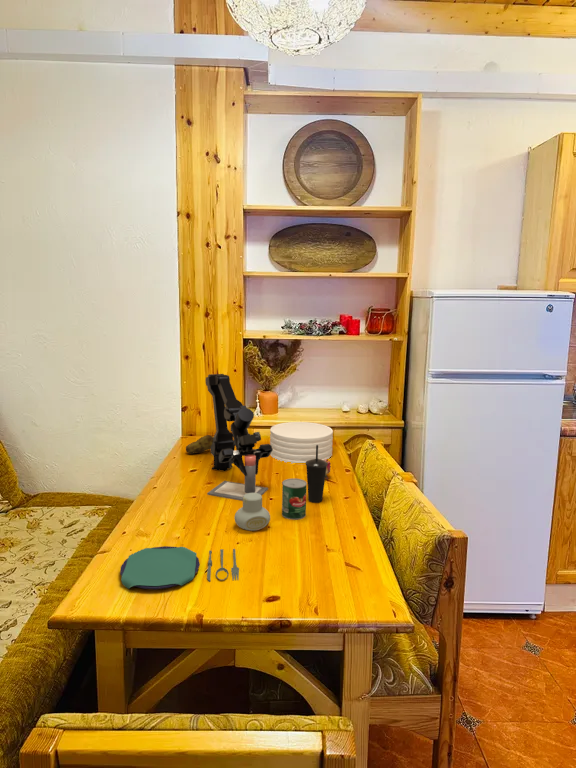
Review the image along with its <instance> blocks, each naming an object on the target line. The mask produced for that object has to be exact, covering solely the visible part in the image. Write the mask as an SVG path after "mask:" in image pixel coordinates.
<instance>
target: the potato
mask: <svg viewBox="0 0 576 768" xmlns="http://www.w3.org/2000/svg"><path fill="white" fill-rule="evenodd" d="M213 437H214V436H212V435H209V434H208V435H204V436H201V437H200V438H198V439H197V440H196V441H193V442H190V443H189V444H187V445H186V447H185V452H186V453H187V454H190V455H194V454H201V453H205V452H206V451H210V448H211V445H212V443H213Z"/></svg>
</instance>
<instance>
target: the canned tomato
mask: <svg viewBox="0 0 576 768" xmlns="http://www.w3.org/2000/svg"><path fill="white" fill-rule="evenodd" d="M281 483H282V488H281V490H282V492H281V493H282V494H281V495H282V498H281V499H282V500H281V515H282V517H284V518H285V519H287V520H293V521H295V520H302V519H304V518H306V516H307V486H308V485H307V481H306V480H303V479H301V478H287V479H284V480H283V481H282V482H281Z"/></svg>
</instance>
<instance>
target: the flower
mask: <svg viewBox="0 0 576 768" xmlns="http://www.w3.org/2000/svg"><path fill="white" fill-rule="evenodd" d="M323 461H326V462H327V463H328V465H327V467H326V475H325V480H328V479H329V477H328V474H329V473H331V467H332V466H331V462H330V461H329V460H327V459H325V460H323Z"/></svg>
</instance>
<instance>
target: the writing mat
mask: <svg viewBox="0 0 576 768" xmlns="http://www.w3.org/2000/svg"><path fill="white" fill-rule="evenodd" d="M268 490H269V488H268V487H266V486H265V487H264V486H260V485H255V493H258V494H260V495H261V496H262V495H264V494H265V493H266V492H267V491H268ZM206 494H207V496H213V497H219V498H225V499H230V500H237V501H241V502H243V496H244V495H245V494H247V493H245V483H241V482H235V481H234V482H233V481H229V480H228V481H227V480H224V481H222V482H220V483H219V484H218V485H216V486H215V487H214V488H212V489H211V490H210V491H208V492H207V493H206Z"/></svg>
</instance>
